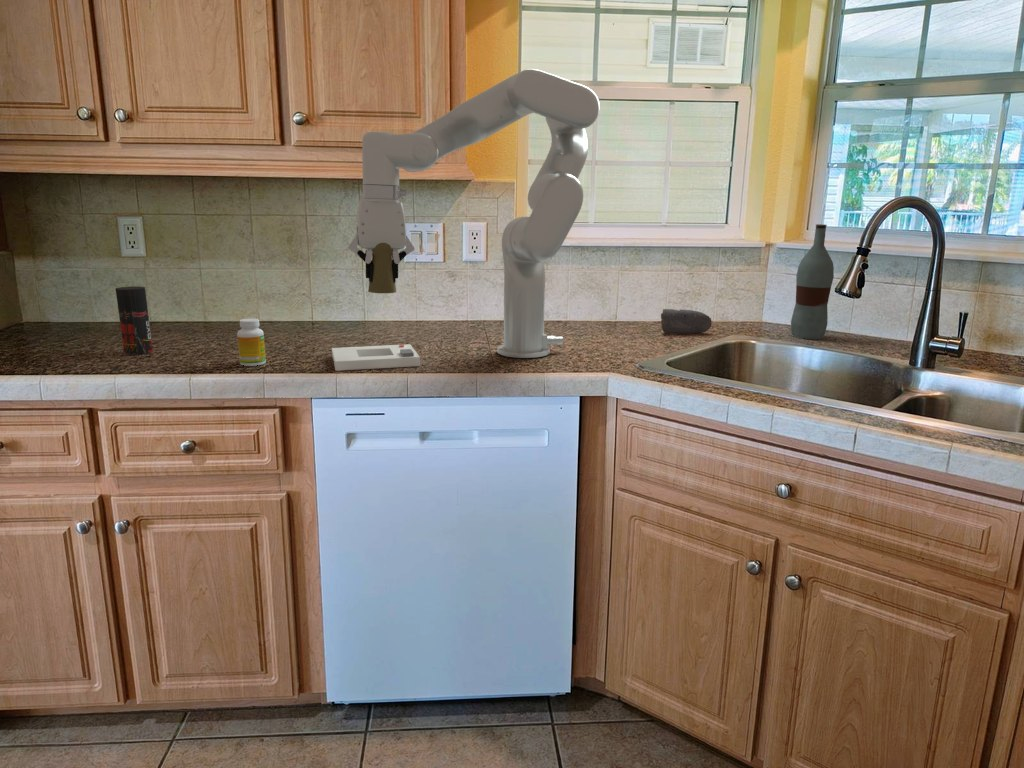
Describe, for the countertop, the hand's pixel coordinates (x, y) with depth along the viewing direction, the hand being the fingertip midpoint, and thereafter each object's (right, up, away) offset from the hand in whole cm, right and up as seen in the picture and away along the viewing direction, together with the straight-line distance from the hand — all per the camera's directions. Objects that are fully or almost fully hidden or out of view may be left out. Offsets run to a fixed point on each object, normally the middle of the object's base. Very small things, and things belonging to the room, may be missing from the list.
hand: (382, 280), depth 150 cm
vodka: (+109, -10, +39) cm, 116 cm away
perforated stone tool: (+76, -9, +42) cm, 87 cm away
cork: (0, -2, +1) cm, 3 cm away
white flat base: (-2, -17, +5) cm, 18 cm away
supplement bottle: (-29, -18, +2) cm, 34 cm away
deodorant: (-59, -15, +11) cm, 62 cm away
